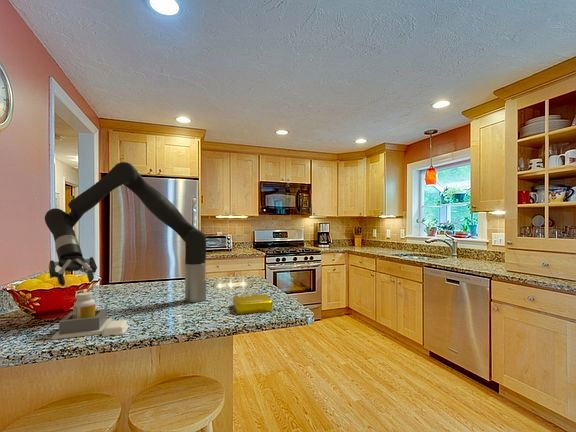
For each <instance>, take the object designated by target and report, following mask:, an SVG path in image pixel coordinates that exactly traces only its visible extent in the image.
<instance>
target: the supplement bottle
mask: <svg viewBox="0 0 576 432" xmlns="http://www.w3.org/2000/svg"><path fill="white" fill-rule="evenodd" d="M83 292H84V293H79V294H77V296H76V298H77V301H76V302H75V303H74V306H73V308H74V309H73V311H72V312H73V319H79V318H89V317H95V310H96V300H95V299H93V296H94V295H93V294H94V293H93V292H91V291H86V292H85V291H83Z"/></svg>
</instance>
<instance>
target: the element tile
mask: <svg viewBox="0 0 576 432" xmlns="http://www.w3.org/2000/svg"><path fill="white" fill-rule="evenodd" d="M232 298H233V301H232V303H233V308H234V311H235V312H236V313H237V314H240V315H244V314H254V313H265V312H272V311H273V308H274V307H273V304H274V302H273V299H271V297H269V296H268V295H267V294H266V293H253V294H238V295H234V296H233V297H232ZM236 313H235V314H236Z"/></svg>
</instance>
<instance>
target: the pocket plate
mask: <svg viewBox="0 0 576 432" xmlns="http://www.w3.org/2000/svg"><path fill="white" fill-rule="evenodd" d="M111 321H113V318H112V317H110V318H108V309H107V308H100V309H95V317H89V318H79V319H73V311H70V312H69V313H68V314H67V315H65V316H64V317H63V318H62V319H61V320H59V321H58V331H56V332H55V333H54V334H53V335H51V340H62V339H71V338H78V337H86V336H94V335H102V333H103V331H104V328H105V327H106V326H107V325H108V324H109V323H110V322H111Z"/></svg>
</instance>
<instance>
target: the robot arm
mask: <svg viewBox="0 0 576 432" xmlns="http://www.w3.org/2000/svg"><path fill="white" fill-rule="evenodd" d="M122 185H123V186H125V187H126V188H127V189H129V191H131V192H132V193H134V194H135V195H136V196H137V197H138V199H139V200H140V201H141V202H142V204H143V205H144V206H145V208H146V209H147V210H149V211H150V213H152V214H153V216H155V217H156V218H157V219H158V220H159V221H161V222H162V223H163V224H165V225H166V226H167V227H169V228H170V229H171V230H173V231H174V232H175V233H176V234H177V235H178V236H179V237H180V238H181V239H182V241H183V242H184V245H185V248H184V249H185V252H184V253H185V256H184V257H185V258H184V264H185V265H184V267H185V268H184V272H185V273H184V274H185V275H184V276H185V277H184V278H185V279H184V281H185V282H184V287H185V288H184V290H185V291H184V293H185V294H184V300H185V301H184V302H186V303H197V302H203V301H207V278H206V257H207V237H206V235H205V233H204V232H203V231H202V230H200V229H198V228H196V227H195V226H194V225H192V223H190V222H189V221H188V220H187V219H186V218H185V217H184V215H183V214H182V213H181V212H180V210H179V209H178V208H177V207H176V206H175V205H174V204H173V203H172V202H171V201H170V200H169V199H168V198H167V197H166V196H165V195H164V194H163V193H161V192H160V191H159V190H157V189H156V188H154V187H153V186H151V184H149V183H148V182H147V181H146V179H144V178H143V176H142V175H141V173H140V172H138V170H137V169H136V168H135V166H134V165H133V164H131V163H130V162H125V161H122V162H121V161H120V162H118V163H116V164H115V166H113V167H112V168H111V169H110V170H109V171H108V172H107V173H106V174H105V175H104V176H103V177H101V178H100V180H98V181H97V182H96V183H94V184H93V185H92V186H91V187H89V188H87V189H86V190H84V191H83V192H82V193H80V194H79V195H77V196H76V197H74V198H73V199H72V200H71V201H69V202H68V204H67V205H68V208H69V209H70V212H69V213H68V212H66V211H64V210H63V209H60V208H57V207H56V208H50V209H49V210H47V211H46V213H45V215H44V222H45V224H46V226H47V228H48V229H49V231H50V233H51V234H52V237H53V240H54V246H55V253H56V256H57V260H58V261H55V260H53V259H52V260H50V261H49V264H48V270H49V271H48V272H49V277H50V278H53V279H54V278H56V279H57V282H58V285H60V286H62V287H65V283H66V279H65V276H64V275H65V273H67V272H68V273H71V272H78V271H80V272H82V273H85V274H86V275H87V277H86V278H87V280H88V282H89V283H92V281H94V278H95V276H94V273H95V274H96V272H97V269H98V266H97V264H96V261H95V259H94V257H92V256H90V257H89V258H87V259H86V258H84V257H83V252H82V250H81V249H82V248H81V247H80V243H79V240H78V238H77V235H76V232H75V230H74V229H73V227H74V226H75V225H76V224H77V223H78V222H79V221H80V220H81V218H82V217H83V216H84V214H86V213H88V212H89V211H90V210H91V209H93V208H94V207H96V205H98V204H99V203H100V202H101V201H102V200H103V199H104V198H106V196H108V195H109V194H110V193H111V192H112V191H114V190H115V189H117V188H119V187H120V186H122ZM57 266H58V267H59V268H60V269H59V270H58V271H57V270H56V268H57Z"/></svg>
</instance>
